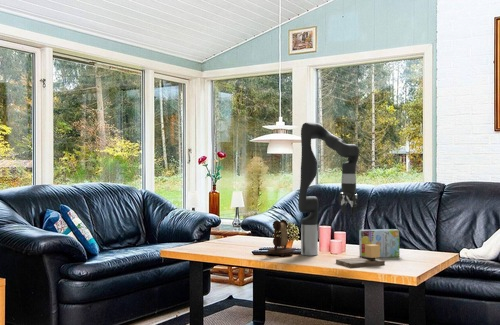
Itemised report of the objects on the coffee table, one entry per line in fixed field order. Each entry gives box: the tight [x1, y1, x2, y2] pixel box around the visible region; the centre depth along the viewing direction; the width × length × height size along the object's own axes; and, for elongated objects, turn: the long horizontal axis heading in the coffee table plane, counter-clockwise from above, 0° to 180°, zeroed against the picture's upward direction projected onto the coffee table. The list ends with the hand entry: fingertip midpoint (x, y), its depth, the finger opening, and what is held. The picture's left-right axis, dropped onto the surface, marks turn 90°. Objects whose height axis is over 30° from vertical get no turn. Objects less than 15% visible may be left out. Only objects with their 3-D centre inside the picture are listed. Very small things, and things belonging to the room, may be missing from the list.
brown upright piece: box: [267, 219, 294, 258], centre depth 313 cm, size 15×15×20 cm
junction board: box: [335, 256, 386, 269], centre depth 282 cm, size 14×20×9 cm
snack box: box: [358, 228, 400, 258], centre depth 306 cm, size 21×6×15 cm, turn 92°
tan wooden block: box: [365, 244, 381, 259], centre depth 281 cm, size 5×5×6 cm
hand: (348, 213), depth 287 cm, fingers open, 8 cm apart
